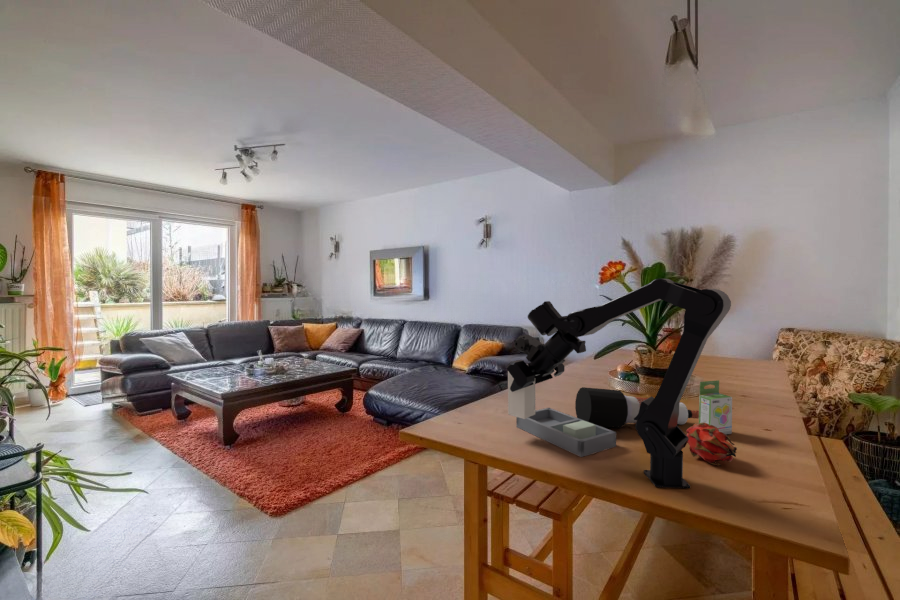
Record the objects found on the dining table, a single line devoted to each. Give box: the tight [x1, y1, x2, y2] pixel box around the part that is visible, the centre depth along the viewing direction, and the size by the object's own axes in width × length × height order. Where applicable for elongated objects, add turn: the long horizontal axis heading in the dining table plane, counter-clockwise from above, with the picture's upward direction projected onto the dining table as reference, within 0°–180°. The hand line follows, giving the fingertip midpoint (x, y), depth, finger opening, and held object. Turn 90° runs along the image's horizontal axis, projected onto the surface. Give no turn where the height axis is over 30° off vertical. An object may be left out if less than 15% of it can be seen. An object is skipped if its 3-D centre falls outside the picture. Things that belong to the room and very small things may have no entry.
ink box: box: [698, 379, 733, 435], centre depth 106 cm, size 7×4×13 cm, turn 105°
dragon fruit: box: [685, 422, 738, 466], centre depth 90 cm, size 8×8×12 cm
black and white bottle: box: [574, 386, 699, 429], centre depth 113 cm, size 10×34×10 cm, turn 95°
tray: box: [515, 407, 617, 458], centre depth 105 cm, size 23×12×4 cm, turn 30°
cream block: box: [507, 370, 536, 419], centre depth 104 cm, size 5×5×12 cm
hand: (517, 388), depth 105 cm, fingers closed on cream block, 5 cm apart
